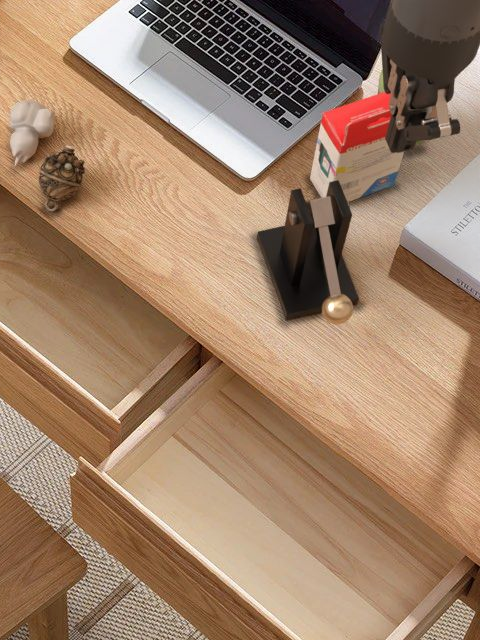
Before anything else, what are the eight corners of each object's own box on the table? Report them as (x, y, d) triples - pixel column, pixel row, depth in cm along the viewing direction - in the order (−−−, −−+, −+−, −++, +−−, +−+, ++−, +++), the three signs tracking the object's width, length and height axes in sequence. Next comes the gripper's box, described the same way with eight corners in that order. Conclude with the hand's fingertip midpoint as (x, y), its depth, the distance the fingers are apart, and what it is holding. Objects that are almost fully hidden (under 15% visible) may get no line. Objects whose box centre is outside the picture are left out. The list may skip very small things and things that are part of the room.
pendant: (56, 138, 141) (96, 153, 140) (35, 202, 143) (75, 217, 143) (44, 138, 137) (85, 154, 136) (22, 204, 139) (63, 220, 138)
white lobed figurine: (4, 95, 144) (-16, 158, 143) (40, 88, 139) (20, 153, 138) (37, 116, 148) (18, 177, 146) (74, 110, 143) (54, 174, 142)
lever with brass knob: (350, 320, 129) (359, 321, 126) (320, 326, 129) (329, 328, 126) (327, 196, 127) (336, 194, 124) (297, 202, 127) (305, 201, 124)
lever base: (357, 305, 134) (378, 238, 122) (285, 320, 133) (299, 255, 122) (325, 223, 138) (342, 151, 127) (256, 238, 138) (267, 167, 126)
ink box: (374, 154, 142) (399, 67, 129) (395, 187, 140) (421, 101, 127) (307, 178, 141) (325, 92, 128) (326, 211, 139) (346, 127, 126)
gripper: (522, 56, 91) (466, 195, 107) (457, -70, 97) (413, 80, 113) (425, 76, 91) (382, 213, 106) (366, -51, 97) (334, 96, 112)
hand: (398, 144), depth 110 cm, fingers closed
